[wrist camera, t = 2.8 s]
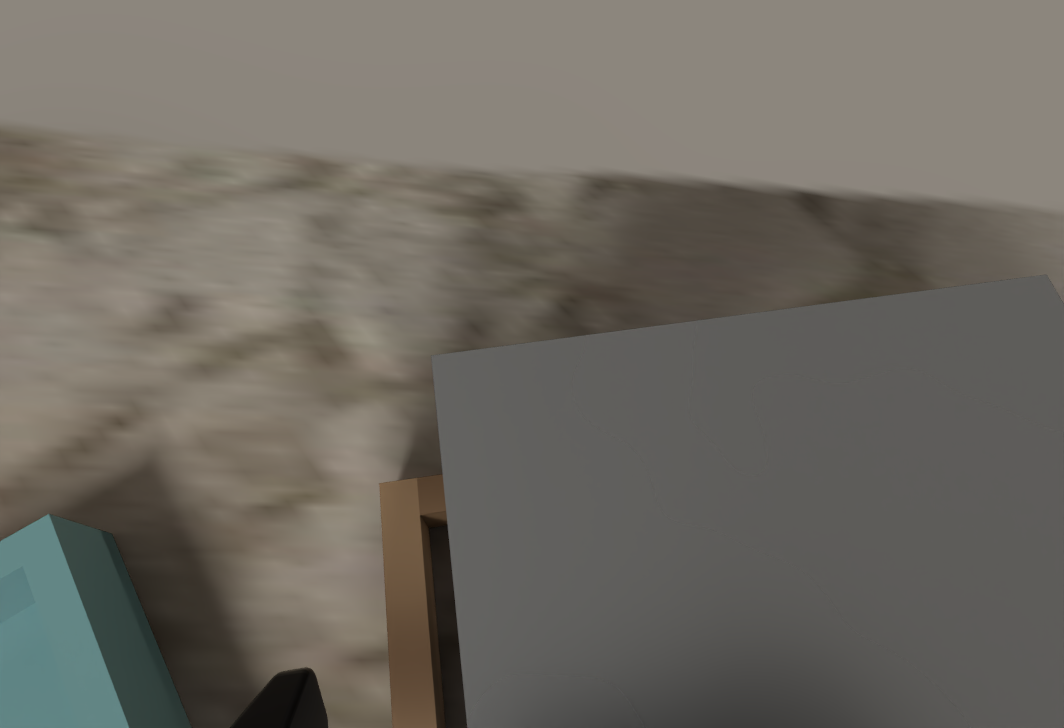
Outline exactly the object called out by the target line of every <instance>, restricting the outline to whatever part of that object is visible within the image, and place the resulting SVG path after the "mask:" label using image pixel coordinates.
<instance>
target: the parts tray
mask: <svg viewBox="0 0 1064 728" xmlns="http://www.w3.org/2000/svg"><path fill="white" fill-rule="evenodd" d="M0 728H192V727H191V725H190V722H189V720H188V718H187V715H186V713H185V710H184V708H183V705H182V703H181V701H180V698H179V696H178V693H177V691H176V688H175V686H174V684H173V681H172V679H171V676H170V674H169V671H168V669H167V667H166V664H165V662H164V659H163V657H162V654H161V652H160V650H159V647H158V645H157V642H156V640H155V637H154V635H153V633H152V630H151V628H150V625H149V623H148V620H147V618H146V616H145V613H144V611H143V608H142V606H141V603H140V601H139V599H138V596H137V594H136V591H135V589H134V586H133V584H132V582H131V579H130V577H129V574H128V572H127V569H126V567H125V565H124V562H123V560H122V557H121V555H120V552H119V550H118V548H117V545H116V543H115V540H114V538H113V535H112V534H111V533H108V532H105V531H101V530H98V529H95V528H92V527H89V526H85V525H82V524H79V523H76V522H73V521H70V520H66V519H63V518H60V517H57V516H54V515H51V514H48V515H46V516H44V517H42V518H41V519H39V520H37V521H35V522H34V523H32V524H30V525H28V526H26V527H25V528H23V529H21V530H19V531H18V532H16V533H14V534H12V535H10V536H9V537H7V538H5V539H3V540H2V541H0Z"/></svg>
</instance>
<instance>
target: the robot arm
mask: <svg viewBox="0 0 1064 728" xmlns="http://www.w3.org/2000/svg"><path fill="white" fill-rule="evenodd" d="M230 728H328V719H327V714H326V710H325V706H324V703H323V699H322V696H321V692H320V689H319V685H318V682H317V678H316V675H315V673H314V672H313V670H312V669H310V668H300V669H294V670H288V671H282V672H280V673H278V674H276V675H275V676H274V677H273V678H272V679H271V680H270V681H269V683H268V684H267V685H266V686H265V687H264V688H263V690H262V691H261V692H260V693H259V694H258V695H257V697H256V698H255V699H254V700H253V701H252V702H251V704H250V705H249V706H248V707H247V708H246V709H245V711H244V712H243V713H242V714H241V715H240V716H239V718H238V719H237V720H236V721H235V722H234V723H233V724H232V726H231V727H230Z"/></svg>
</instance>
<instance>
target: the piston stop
mask: <svg viewBox="0 0 1064 728" xmlns="http://www.w3.org/2000/svg"><path fill="white" fill-rule="evenodd" d="M431 360H432V370H433V380H434V391H435V401H436V411H437V421H438V432H439V442H440V452H441V462H442V473H443V483H444V493H445V503H446V514H447V524H448V534H449V544H450V555H451V565H452V575H453V586H454V596H455V606H456V616H457V627H458V637H459V647H460V657H461V668H462V678H463V688H464V698H465V709H466V719H467V728H1064V303H1063V302H1062V300H1061V298H1060V297H1059V295H1058V293H1057V292H1056V290H1055V288H1054V286H1053V285H1052V283H1051V281H1050V280H1049V278H1048V276H1047V275H1039V276H1031V277H1024V278H1016V279H1009V280H1001V281H994V282H986V283H978V284H971V285H963V286H956V287H948V288H940V289H933V290H925V291H918V292H910V293H902V294H895V295H887V296H880V297H872V298H864V299H857V300H849V301H842V302H834V303H826V304H819V305H811V306H804V307H796V308H788V309H781V310H773V311H766V312H758V313H750V314H743V315H735V316H728V317H720V318H712V319H705V320H697V321H690V322H682V323H675V324H667V325H659V326H652V327H644V328H637V329H629V330H621V331H614V332H606V333H599V334H591V335H583V336H576V337H568V338H561V339H553V340H545V341H538V342H530V343H523V344H515V345H507V346H500V347H492V348H485V349H477V350H469V351H462V352H454V353H447V354H439V355H431Z"/></svg>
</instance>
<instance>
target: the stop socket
mask: <svg viewBox="0 0 1064 728" xmlns="http://www.w3.org/2000/svg"><path fill="white" fill-rule="evenodd" d="M379 485H380V503H381V522H382V540H383V559H384V577H385V595H386V614H387V632H388V651H389V669H390V688H391V706H392V725H393V728H446V724H445V712H444V701H443V689H442V677H441V665H440V653H439V642H438V630H437V618H436V606H435V595H434V583H433V571H432V559H431V548H430V536H429V528H432V527H438V526H445V525H448V524H447V514H446V503H445V493H444V483H443V474H440V475H433V476H426V477H420V478H413V479H406V480H399V481H392V482H385V483H379Z"/></svg>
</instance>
